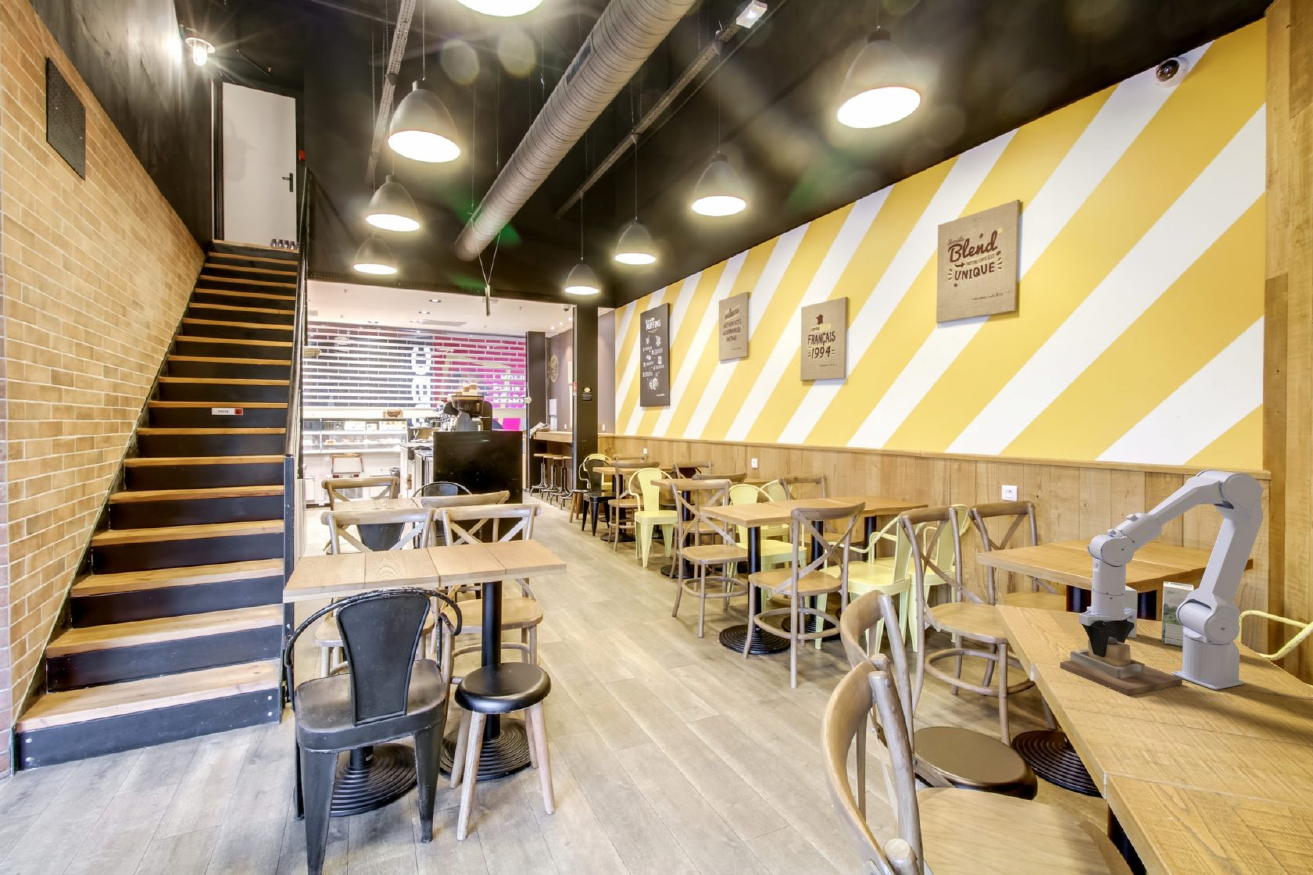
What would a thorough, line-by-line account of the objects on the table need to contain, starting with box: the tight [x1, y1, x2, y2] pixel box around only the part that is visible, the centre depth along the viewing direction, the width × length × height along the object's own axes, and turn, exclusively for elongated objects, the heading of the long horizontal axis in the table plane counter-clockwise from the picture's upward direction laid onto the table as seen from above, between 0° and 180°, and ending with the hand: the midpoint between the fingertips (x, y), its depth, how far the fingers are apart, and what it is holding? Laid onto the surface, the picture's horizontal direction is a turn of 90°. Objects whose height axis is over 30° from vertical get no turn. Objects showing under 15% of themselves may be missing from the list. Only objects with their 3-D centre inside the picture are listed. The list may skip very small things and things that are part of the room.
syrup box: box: [1161, 580, 1195, 648], centre depth 147 cm, size 6×6×14 cm
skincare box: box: [1125, 585, 1138, 639], centre depth 153 cm, size 6×4×12 cm
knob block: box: [1087, 637, 1132, 667], centre depth 129 cm, size 4×6×6 cm
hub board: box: [1059, 648, 1183, 696], centre depth 128 cm, size 16×14×3 cm
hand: (1106, 654), depth 130 cm, fingers closed on knob block, 4 cm apart
